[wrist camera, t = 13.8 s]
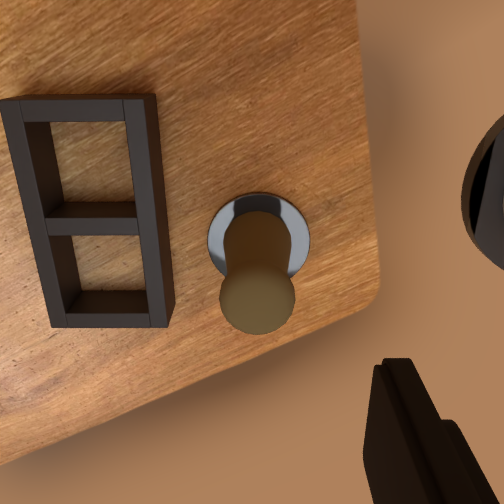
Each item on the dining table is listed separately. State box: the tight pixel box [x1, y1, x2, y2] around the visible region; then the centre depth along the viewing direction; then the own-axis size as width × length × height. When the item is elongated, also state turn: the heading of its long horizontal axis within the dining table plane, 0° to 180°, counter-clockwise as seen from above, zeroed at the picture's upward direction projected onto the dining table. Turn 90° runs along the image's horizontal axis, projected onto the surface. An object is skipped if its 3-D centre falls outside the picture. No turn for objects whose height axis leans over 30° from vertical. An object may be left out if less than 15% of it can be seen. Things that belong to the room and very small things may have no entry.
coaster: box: [208, 192, 310, 278], centre depth 39 cm, size 9×9×1 cm
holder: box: [0, 94, 175, 328], centre depth 36 cm, size 10×19×4 cm, turn 1°
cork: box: [219, 211, 295, 335], centre depth 34 cm, size 6×6×11 cm
